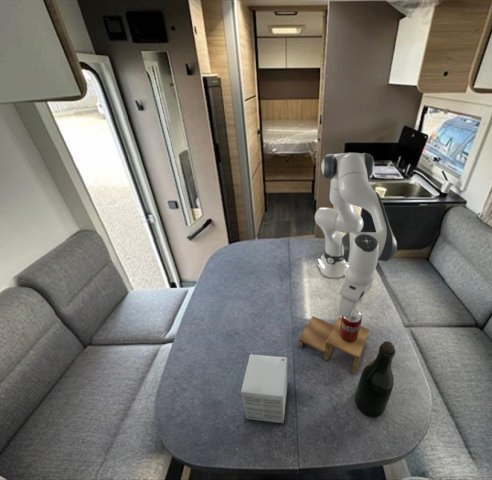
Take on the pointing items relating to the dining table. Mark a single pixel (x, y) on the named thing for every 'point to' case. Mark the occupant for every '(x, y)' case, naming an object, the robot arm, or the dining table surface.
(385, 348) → the dark green wine bottle
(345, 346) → the step shelf
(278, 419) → the supplement box
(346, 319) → the soda can
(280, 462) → the dining table surface
